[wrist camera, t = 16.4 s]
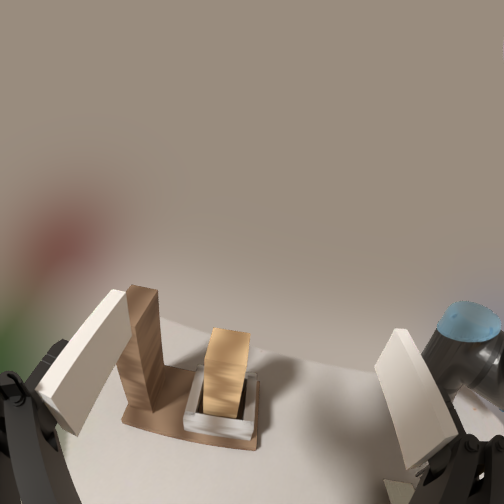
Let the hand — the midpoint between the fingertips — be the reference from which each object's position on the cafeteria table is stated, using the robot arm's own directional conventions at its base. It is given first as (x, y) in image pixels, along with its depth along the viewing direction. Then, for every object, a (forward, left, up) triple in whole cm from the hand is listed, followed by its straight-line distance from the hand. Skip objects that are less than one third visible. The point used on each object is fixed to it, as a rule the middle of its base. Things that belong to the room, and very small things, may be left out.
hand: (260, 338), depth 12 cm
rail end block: (+2, -16, -31) cm, 35 cm away
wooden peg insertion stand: (+7, -16, -32) cm, 36 cm away
